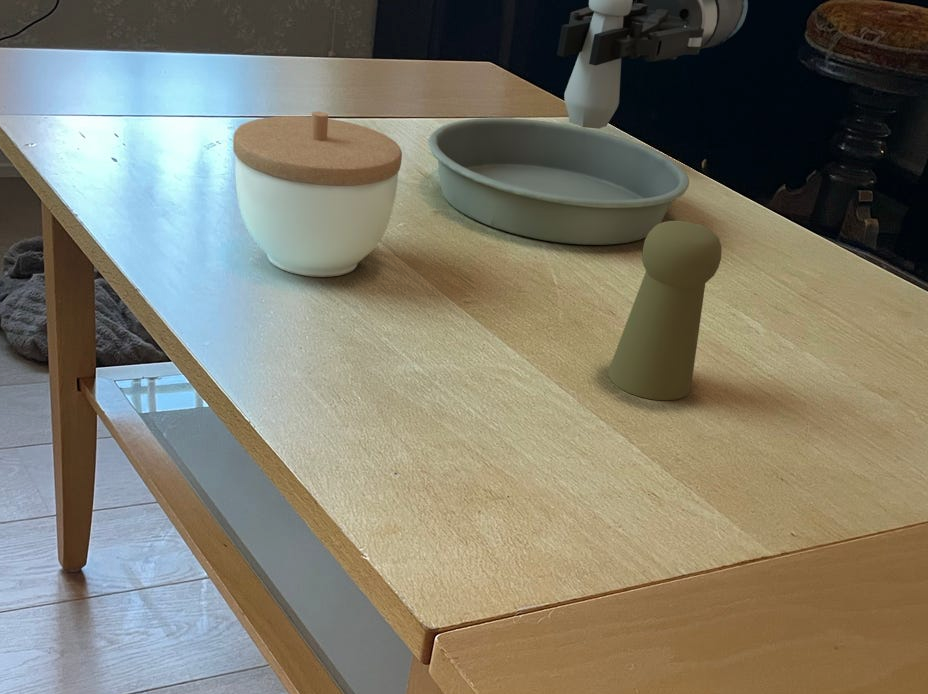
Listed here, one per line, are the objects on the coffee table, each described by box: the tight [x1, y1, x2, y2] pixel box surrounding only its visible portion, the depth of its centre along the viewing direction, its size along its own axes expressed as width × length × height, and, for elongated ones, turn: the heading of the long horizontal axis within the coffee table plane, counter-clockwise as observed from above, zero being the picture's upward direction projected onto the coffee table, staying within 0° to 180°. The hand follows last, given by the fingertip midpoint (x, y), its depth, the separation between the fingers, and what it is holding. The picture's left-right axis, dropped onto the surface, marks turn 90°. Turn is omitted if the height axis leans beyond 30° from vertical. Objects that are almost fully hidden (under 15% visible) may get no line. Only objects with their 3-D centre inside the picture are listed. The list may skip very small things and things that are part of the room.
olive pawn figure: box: [607, 220, 722, 401], centre depth 79 cm, size 6×6×11 cm
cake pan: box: [427, 117, 690, 246], centre depth 109 cm, size 25×25×4 cm
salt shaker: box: [563, 0, 633, 130], centre depth 120 cm, size 6×6×13 cm
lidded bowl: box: [232, 111, 403, 278], centre depth 89 cm, size 13×13×11 cm
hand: (579, 45), depth 115 cm, fingers closed on salt shaker, 3 cm apart
